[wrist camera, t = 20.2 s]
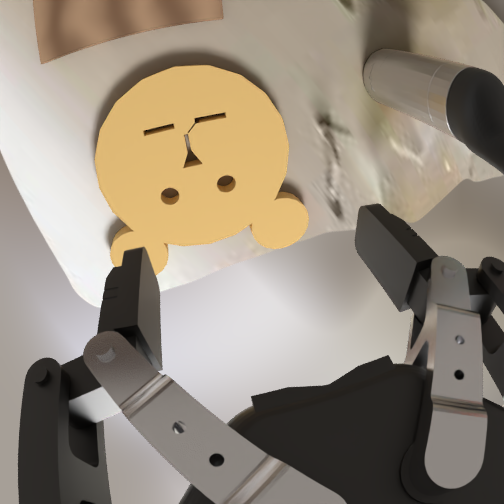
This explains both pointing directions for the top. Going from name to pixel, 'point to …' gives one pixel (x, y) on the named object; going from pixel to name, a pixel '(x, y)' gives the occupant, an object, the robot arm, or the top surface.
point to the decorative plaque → (196, 164)
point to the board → (110, 21)
